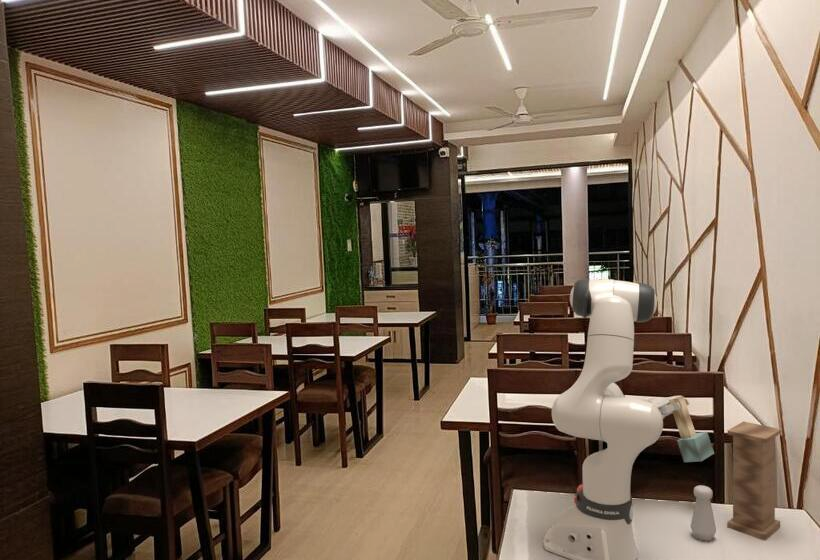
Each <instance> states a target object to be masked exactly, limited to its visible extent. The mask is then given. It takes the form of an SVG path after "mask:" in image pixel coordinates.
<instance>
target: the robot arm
mask: <svg viewBox="0 0 820 560" xmlns="http://www.w3.org/2000/svg"><path fill="white" fill-rule="evenodd" d="M569 303H570V306H571V309H572V311H573V313H575V315H577V316H580V317H582V318H584V319H586V318H588V317H589V324H588V331H587V341H586V350H585V358H584V363H583V367H582V371H581V372H580V375H579V377H577V380H576V381H575V382H574V383H573V385H572V386H571V387H569V388H568V389H567V390H565V391H564V392H562V393H560V394H559V395H558V396H557V397H556V398H555V400H554V402H553V405H552V407H551V418H552V422H553V424H554V426H555V428H556V429H557V430H558V431H559V432H561V433H564V434H567V435H569V436H573V437H576V438H582V439H589V440H593V441H595V440H596V441H602V442H605V443H606V444H607V446H606V447H607V448H605V449H602V450H599V451H597V452H594V453H592V454H590V455H588V456H587V457H586V458H585V459H584V461H583V464H582V484H579V485H578V486H577V488H576V492H575V494H574V497H573V504H571V505H569V506H567V507H566V508H564V509H562V510H561V511H560V512H559V513H558V514H557V516H556V517H555V519H554V521H553V525H552V526H551V527H550V528H548V530H547V531H546V533H545V534H544V536H543V540H542V541H543V542H542V545H543V549H544V550H545V551H548V552H551V553H553V554H555V555H557V556H558V555H559V556H561V557H563V558H567V559H569V560H637V559H638V557H639V550H638V548H637V545H636V541H635V537H634V530H633V523H632V522H633V519H634V518H633V517H634V503H633V497H632V495H631V479H632V478H631V477H632V470H633V465H634V463H635V460H636V459H637V458H638V456H639V455H640V453H641V452H642V451H644V450H645V449H646V448H647V447H650V446H652V445H653V444H654V443H656V442H657V440H659V438H660V437H661V434H662V432H663V429H664V419H665V417H667V416H670V415H671V414H673V412H672V411H674V410H678V409H680V408H682V405H681V403H680V402H677V403H674V404H670V403H669V399H671V398H674V397H681V396H682V395H673V396H669V397H667V396H666V397H661V398H658V399H657V398H656V397H654V398H650V399H640V398H639V399H638V398H636V397H630V396H629V397H628V396H625V394H624V393H623V391H622V389H621V388H620V386H619V385H618V384H617V383H616V382H619V381H621V380H623V379H626V378H627V377H628V376H629V375H630V374H631V373H632V371H633V365H634V363H633V362H634V347H635V346H634V345H635V324H634V323H635V322H636V323H645V322H649V321H650V320H651V319H652V318H653V316H654V314H655V313H656V311H657V306H658V298H657V295H656V293H655V289H654V288H653V287H652V285H650V284H646V283H643V282H639V283H637V282H631V281H625V280H617V279H616V280H615V279H613V278H612V279H611V278H610V279H609V278H601V279H598V278H597V279H590V278H581V279H577V281H575V283H574V284H573V286H572V288H571V291H570V294H569ZM684 399H685V402H686V405H687V406H689V405H690V400H689V399H688V398H684Z"/></svg>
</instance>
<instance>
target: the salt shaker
mask: <svg viewBox="0 0 820 560" xmlns="http://www.w3.org/2000/svg"><path fill="white" fill-rule="evenodd" d="M713 494H714V493H713V490H712V489H711V487H709V486H706V485H700V484H699V485H696V486H695V487H694V488H693V495H694V497H696V498H695V503H694V509H693V512H692V517H691V520H690V521H691V522H690V530H691V531H692V534H693V536H694V538H695V539H697V540H699V541H702V542H710V541H712V540H713V538H714V537H715V534H716V532H717V527H716V522H715V516H714V512H713V506H712V501H711V500H712V498H713V496H714V495H713Z"/></svg>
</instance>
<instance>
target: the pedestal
mask: <svg viewBox="0 0 820 560" xmlns="http://www.w3.org/2000/svg"><path fill="white" fill-rule="evenodd" d="M726 434H727V435H729V436H732V441H733V442H732V451H733V452H732V490H733V491H732V518H730V519H729V520H728V521H727V524H726V525H727V528H728V529H731V530H733V531H736V532H738V533H742V534H744V535H745V534H746V535H748V536H751V537H754V538H756V539H759V540H763V541H765V542H766V541H767V540H768V539H769V538H770V537H771V536H772V535H773V534H774V533H776V532H777V531H778V530H779V529H780V527H781V521H780V520H778V519H776V508H775V507H776V499H775V498H776V437H778V436H779V435H781V434H782V429H781V428H777V427H772V426H767V425H763V424H757V423H754V422H748V421H742V422H740V423H738V424H736V425H735V426H733V427H731V428H729V429H727V432H726Z"/></svg>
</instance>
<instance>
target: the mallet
mask: <svg viewBox="0 0 820 560" xmlns="http://www.w3.org/2000/svg"><path fill="white" fill-rule="evenodd" d="M680 396H681V397H674V398H671V399H669V403H670V404H674V403H677V402H680V403H681V405H682V408H680V409H678V410H674V411H672V412H673V413H672V414H673V417H674V421H675V424H676V426H677V430H678V432H679V436H680V438H679V439H677V440H676V442H677V444H678V445H677V446H678V448H679V451H680V454H681V457H682V461H683V463H693V462H695V463H696V462H703V461H704V460H706V459H708V458H709V457H711V456H712V455H714V454H715V452H714V448H713V445H712V443H711V440H710V436H709V433H708V431H703V432H696V430H695V427H694V425H693V421H692V417H691V415H690V411H689V409H688V405H686V402H685V399H686V398H685V396H683V395H680Z"/></svg>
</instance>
